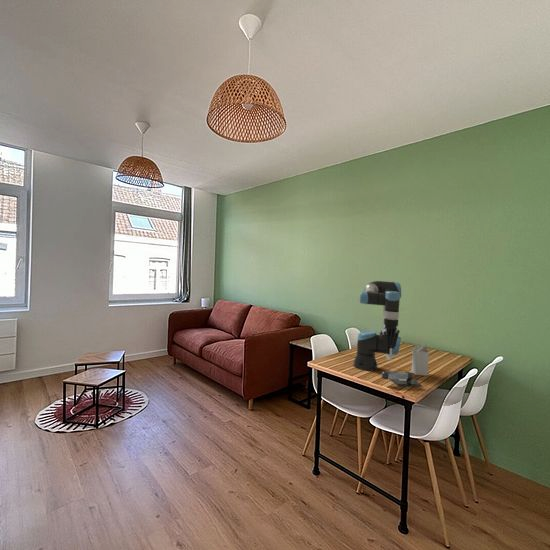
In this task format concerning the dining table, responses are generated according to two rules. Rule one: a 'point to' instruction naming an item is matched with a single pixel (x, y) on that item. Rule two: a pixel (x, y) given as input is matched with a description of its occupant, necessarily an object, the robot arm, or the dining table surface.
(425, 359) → the milk carton
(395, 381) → the plate
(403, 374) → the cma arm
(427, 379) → the dining table surface
